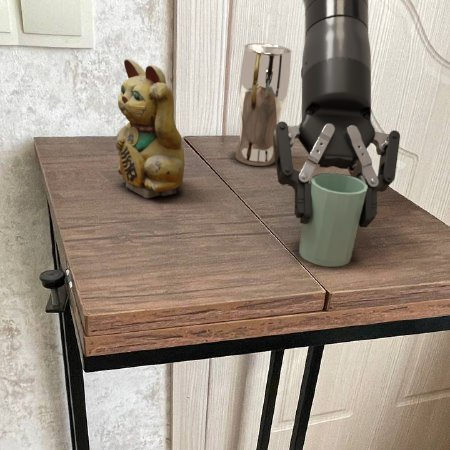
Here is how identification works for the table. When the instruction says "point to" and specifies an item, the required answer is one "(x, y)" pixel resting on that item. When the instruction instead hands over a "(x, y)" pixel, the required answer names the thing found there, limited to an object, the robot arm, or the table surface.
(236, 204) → the table surface
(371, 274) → the table surface
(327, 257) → the cup
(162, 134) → the decorative figurine
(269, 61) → the beer glass
